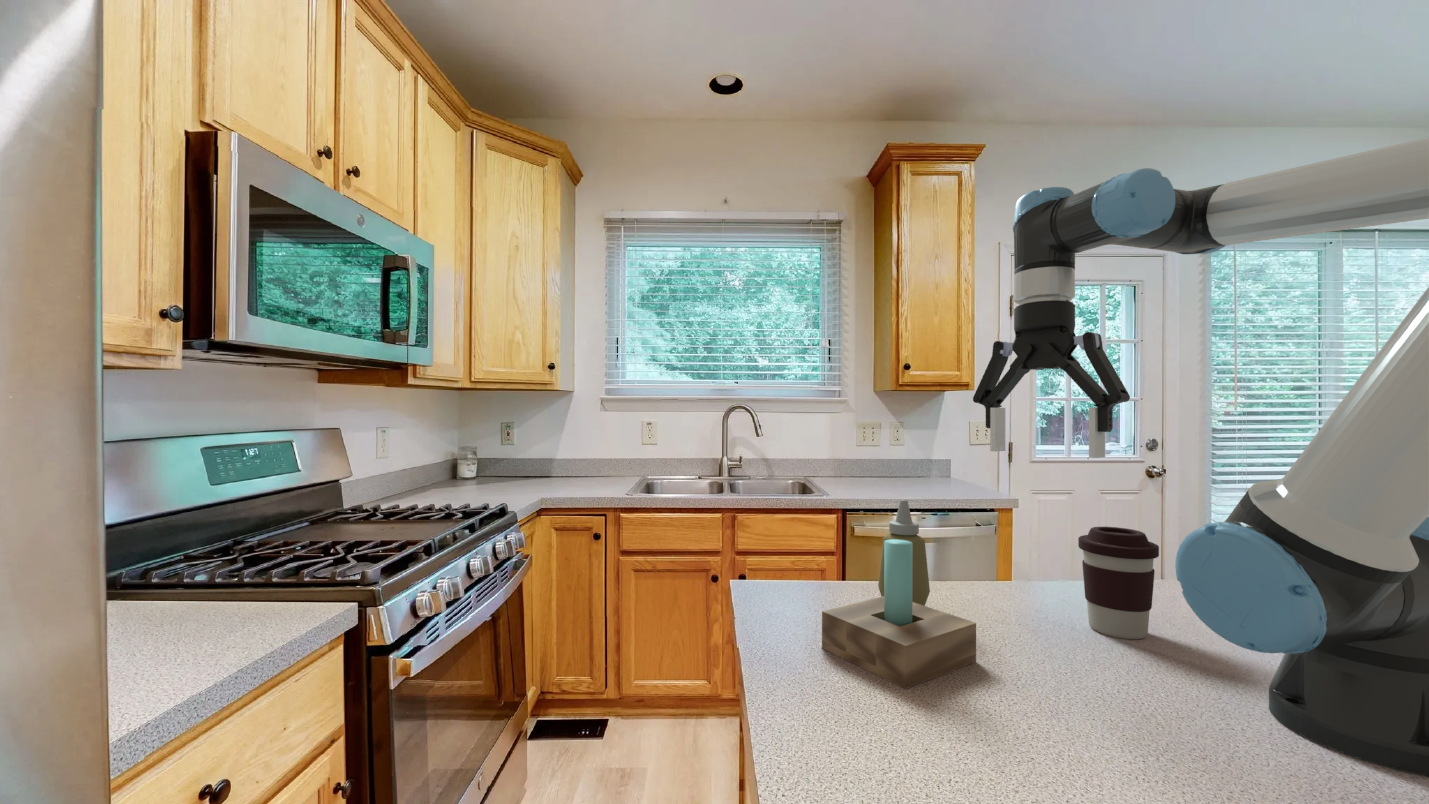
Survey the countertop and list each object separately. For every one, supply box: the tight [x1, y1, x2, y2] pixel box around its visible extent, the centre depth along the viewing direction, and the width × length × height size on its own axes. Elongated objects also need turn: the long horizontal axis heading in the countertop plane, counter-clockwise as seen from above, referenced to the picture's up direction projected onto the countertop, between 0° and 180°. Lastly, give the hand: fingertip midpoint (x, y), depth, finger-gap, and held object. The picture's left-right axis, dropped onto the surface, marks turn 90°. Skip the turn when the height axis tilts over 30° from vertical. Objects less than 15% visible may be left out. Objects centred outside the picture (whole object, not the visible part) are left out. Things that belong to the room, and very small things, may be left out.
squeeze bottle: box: [878, 499, 931, 606], centre depth 96 cm, size 8×8×18 cm
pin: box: [884, 539, 912, 626], centre depth 78 cm, size 4×4×14 cm
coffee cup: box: [1077, 526, 1160, 640], centre depth 88 cm, size 10×10×15 cm
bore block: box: [821, 596, 977, 690], centre depth 78 cm, size 14×14×5 cm
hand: (1044, 454), depth 82 cm, fingers open, 13 cm apart
